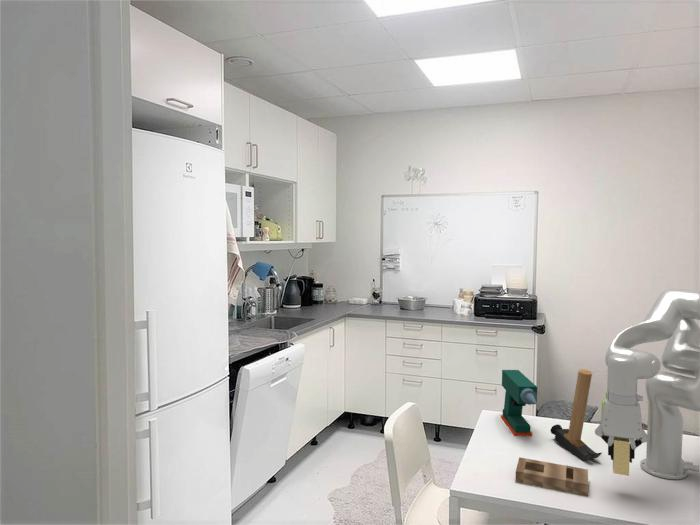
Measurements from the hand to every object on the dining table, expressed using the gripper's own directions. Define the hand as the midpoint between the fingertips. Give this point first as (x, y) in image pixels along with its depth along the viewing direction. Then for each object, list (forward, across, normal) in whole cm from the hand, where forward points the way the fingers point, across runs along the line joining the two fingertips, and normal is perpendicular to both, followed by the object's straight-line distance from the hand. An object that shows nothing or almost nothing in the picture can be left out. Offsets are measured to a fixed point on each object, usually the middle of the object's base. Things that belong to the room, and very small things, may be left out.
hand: (621, 458), depth 147 cm
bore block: (+10, +19, +1) cm, 21 cm away
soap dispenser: (+12, +1, -43) cm, 45 cm away
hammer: (+11, +13, -25) cm, 30 cm away
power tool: (+11, +31, -33) cm, 46 cm away
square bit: (+4, 0, 0) cm, 4 cm away
